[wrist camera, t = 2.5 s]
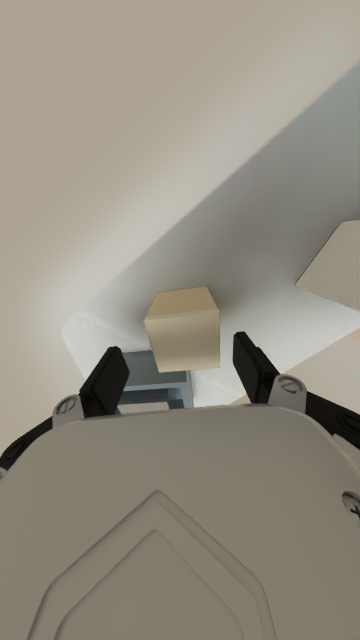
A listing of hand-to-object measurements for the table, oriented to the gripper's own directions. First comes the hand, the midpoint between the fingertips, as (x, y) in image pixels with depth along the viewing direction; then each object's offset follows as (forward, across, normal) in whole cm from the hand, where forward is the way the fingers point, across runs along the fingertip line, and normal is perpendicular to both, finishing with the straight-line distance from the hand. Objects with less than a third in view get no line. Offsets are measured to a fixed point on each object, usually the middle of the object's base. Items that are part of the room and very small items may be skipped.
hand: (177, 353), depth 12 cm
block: (+6, +5, +10) cm, 13 cm away
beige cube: (+7, -1, -1) cm, 7 cm away
